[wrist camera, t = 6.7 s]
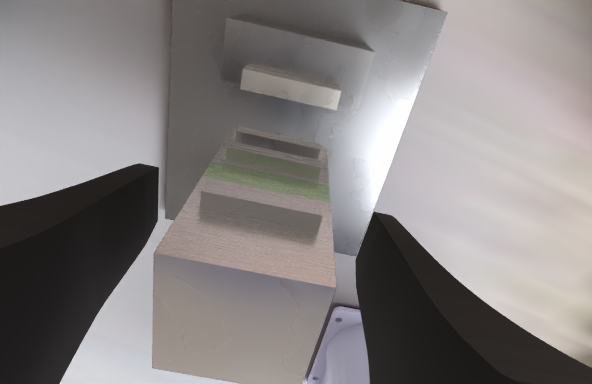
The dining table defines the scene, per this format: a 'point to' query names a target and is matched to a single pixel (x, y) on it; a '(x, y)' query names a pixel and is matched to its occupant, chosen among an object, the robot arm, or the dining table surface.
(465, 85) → the dining table surface
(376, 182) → the stand
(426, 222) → the dining table surface
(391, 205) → the dining table surface
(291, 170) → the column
